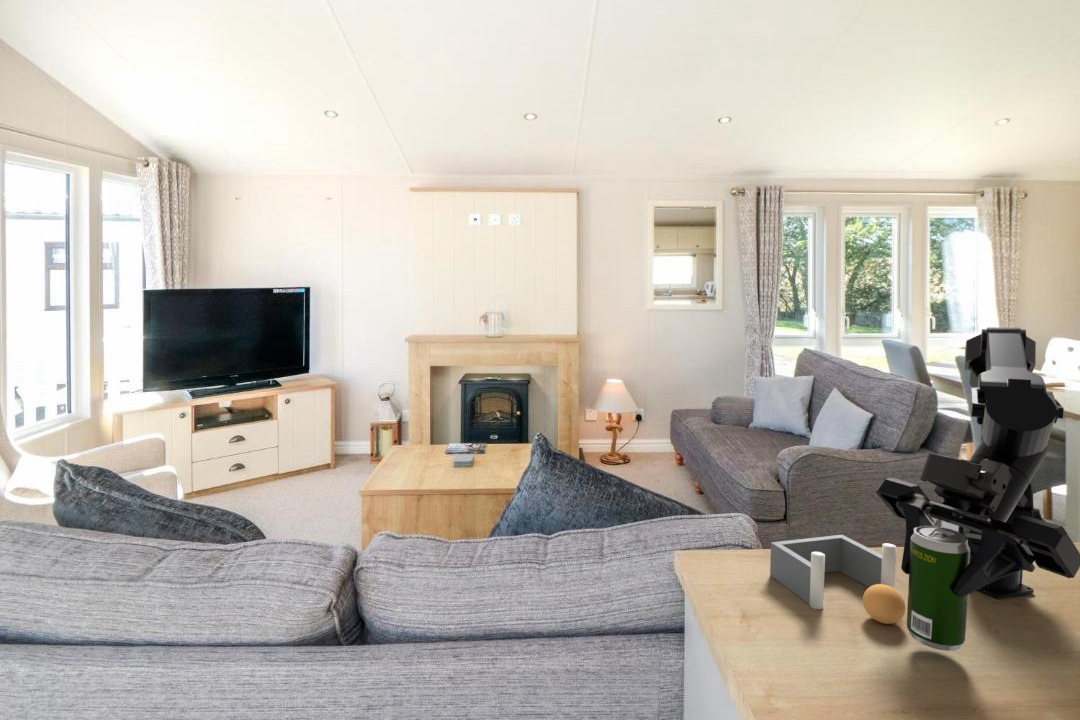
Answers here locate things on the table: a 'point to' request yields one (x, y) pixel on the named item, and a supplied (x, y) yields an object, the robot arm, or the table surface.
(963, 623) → the beer can
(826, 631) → the table surface
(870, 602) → the ball
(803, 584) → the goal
